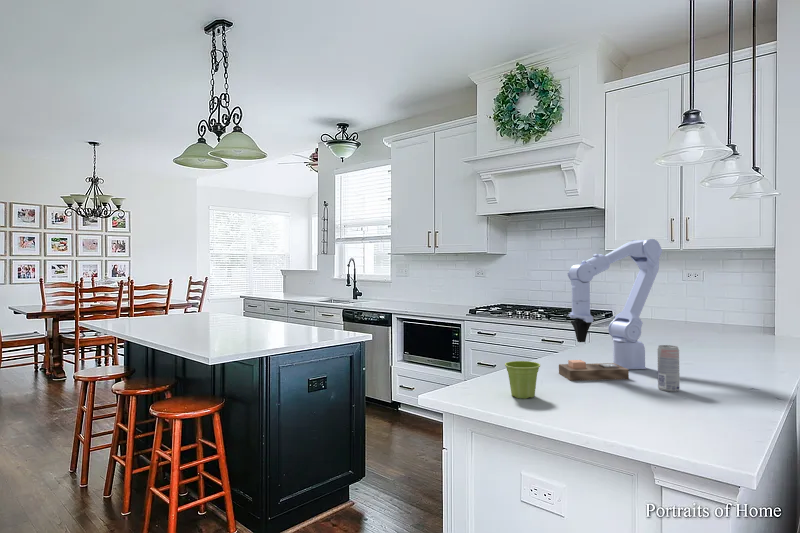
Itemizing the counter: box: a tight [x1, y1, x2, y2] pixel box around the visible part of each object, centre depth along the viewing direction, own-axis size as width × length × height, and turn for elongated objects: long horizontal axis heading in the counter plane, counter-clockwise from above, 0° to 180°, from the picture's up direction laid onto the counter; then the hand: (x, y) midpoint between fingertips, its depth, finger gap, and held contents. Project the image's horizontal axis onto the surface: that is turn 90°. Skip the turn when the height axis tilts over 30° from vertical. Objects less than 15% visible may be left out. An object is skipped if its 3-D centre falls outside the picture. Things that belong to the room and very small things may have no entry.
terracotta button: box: [567, 359, 587, 369], centre depth 162 cm, size 4×4×3 cm
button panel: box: [558, 362, 630, 382], centre depth 162 cm, size 18×10×3 cm, turn 92°
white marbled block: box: [599, 364, 618, 368], centre depth 162 cm, size 4×4×3 cm
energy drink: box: [657, 344, 681, 393], centre depth 145 cm, size 5×5×12 cm
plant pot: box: [504, 360, 541, 399], centre depth 140 cm, size 9×9×9 cm
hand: (581, 341), depth 171 cm, fingers closed
